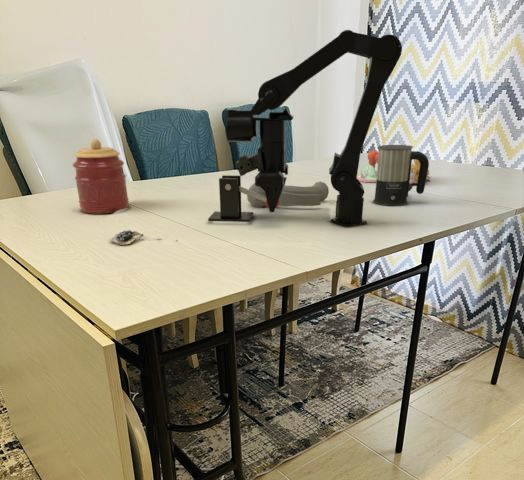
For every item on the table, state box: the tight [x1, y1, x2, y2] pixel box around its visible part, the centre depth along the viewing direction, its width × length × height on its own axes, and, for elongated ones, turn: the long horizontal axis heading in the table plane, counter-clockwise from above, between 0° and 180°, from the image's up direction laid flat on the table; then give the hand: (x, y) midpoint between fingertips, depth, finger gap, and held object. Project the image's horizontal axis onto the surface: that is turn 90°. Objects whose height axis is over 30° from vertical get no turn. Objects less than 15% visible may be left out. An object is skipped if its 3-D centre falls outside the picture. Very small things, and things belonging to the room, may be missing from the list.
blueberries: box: [110, 229, 144, 246], centre depth 112 cm, size 7×8×2 cm
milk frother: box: [373, 144, 430, 206], centre depth 144 cm, size 14×16×15 cm
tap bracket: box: [207, 174, 254, 223], centre depth 125 cm, size 10×8×10 cm
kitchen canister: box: [72, 138, 130, 215], centre depth 135 cm, size 13×13×18 cm
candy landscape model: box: [357, 149, 432, 184], centre depth 174 cm, size 25×24×9 cm
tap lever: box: [227, 177, 280, 209], centre depth 124 cm, size 14×3×3 cm, turn 82°
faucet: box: [246, 181, 330, 208], centre depth 144 cm, size 7×21×26 cm
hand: (272, 210), depth 125 cm, fingers closed on tap lever, 3 cm apart
